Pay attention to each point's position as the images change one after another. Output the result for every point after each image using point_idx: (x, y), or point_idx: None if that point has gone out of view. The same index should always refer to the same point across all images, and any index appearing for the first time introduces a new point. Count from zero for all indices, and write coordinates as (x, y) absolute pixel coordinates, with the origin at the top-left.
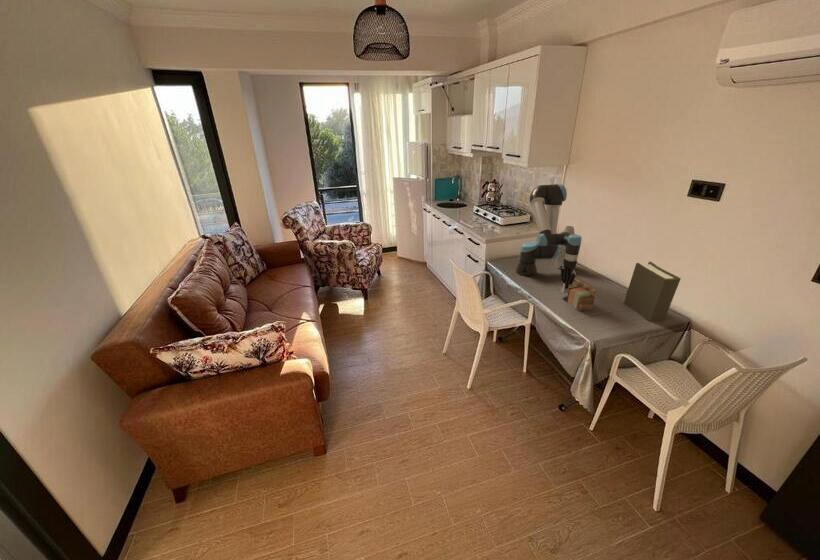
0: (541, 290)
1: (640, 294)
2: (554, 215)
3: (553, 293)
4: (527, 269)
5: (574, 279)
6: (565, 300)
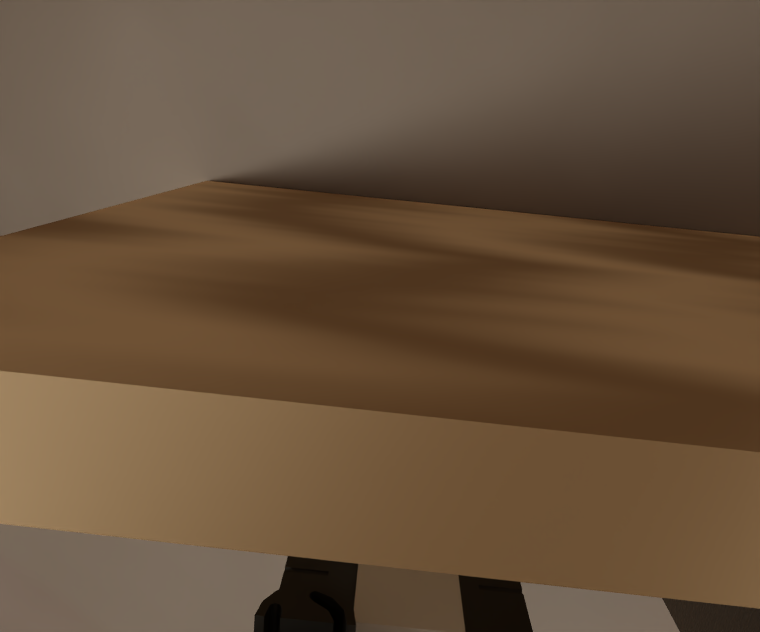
0: (27, 617)
1: None
2: None
3: None
4: None
5: (696, 584)
6: None
